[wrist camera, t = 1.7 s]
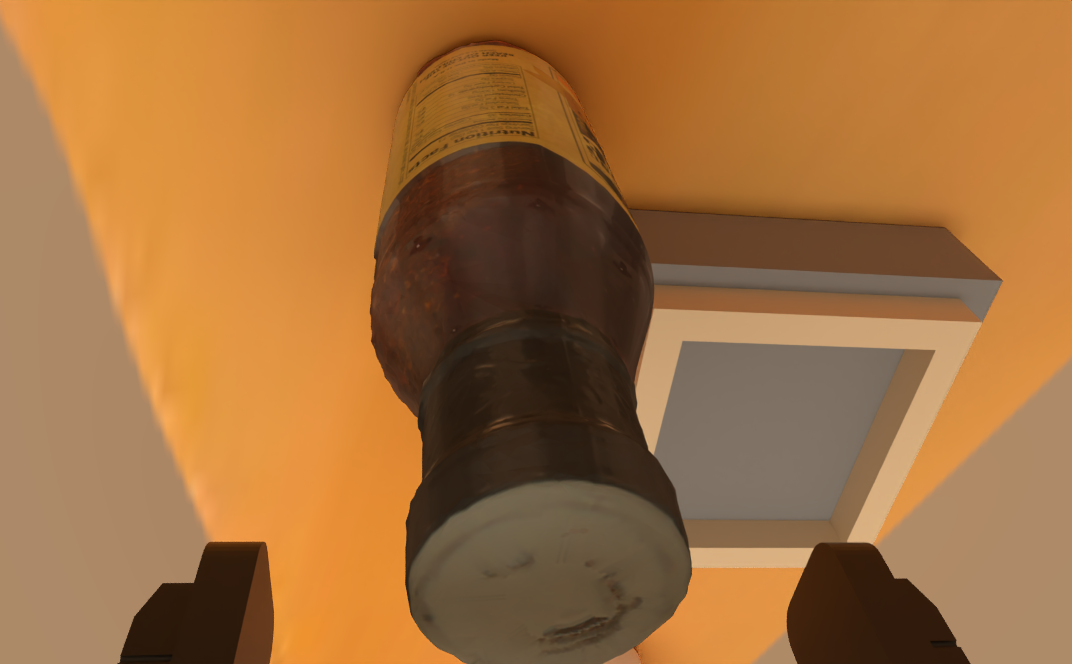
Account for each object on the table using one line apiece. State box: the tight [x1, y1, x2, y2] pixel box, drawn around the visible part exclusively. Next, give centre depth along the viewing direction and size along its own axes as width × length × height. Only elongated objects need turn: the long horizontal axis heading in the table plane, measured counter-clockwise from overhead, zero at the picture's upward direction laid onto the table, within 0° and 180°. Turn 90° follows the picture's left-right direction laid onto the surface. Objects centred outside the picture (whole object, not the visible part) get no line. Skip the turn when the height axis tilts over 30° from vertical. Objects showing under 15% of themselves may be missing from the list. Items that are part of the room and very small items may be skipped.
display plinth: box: [629, 209, 1003, 568], centre depth 33 cm, size 14×14×6 cm
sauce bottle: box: [370, 41, 692, 664], centre depth 20 cm, size 6×6×20 cm
